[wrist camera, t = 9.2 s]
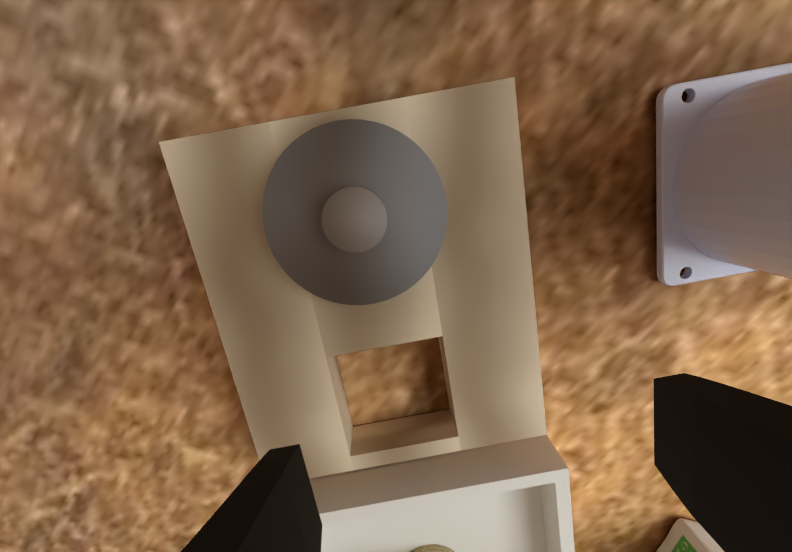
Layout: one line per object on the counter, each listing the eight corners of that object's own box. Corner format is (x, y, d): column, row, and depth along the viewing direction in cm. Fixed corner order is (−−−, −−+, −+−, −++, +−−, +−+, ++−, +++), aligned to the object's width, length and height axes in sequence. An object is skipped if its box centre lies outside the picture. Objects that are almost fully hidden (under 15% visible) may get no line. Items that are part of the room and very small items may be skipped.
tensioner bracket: (496, 89, 15) (538, 59, 11) (528, 407, 19) (569, 469, 15) (187, 146, 15) (120, 136, 11) (278, 453, 18) (252, 527, 15)
